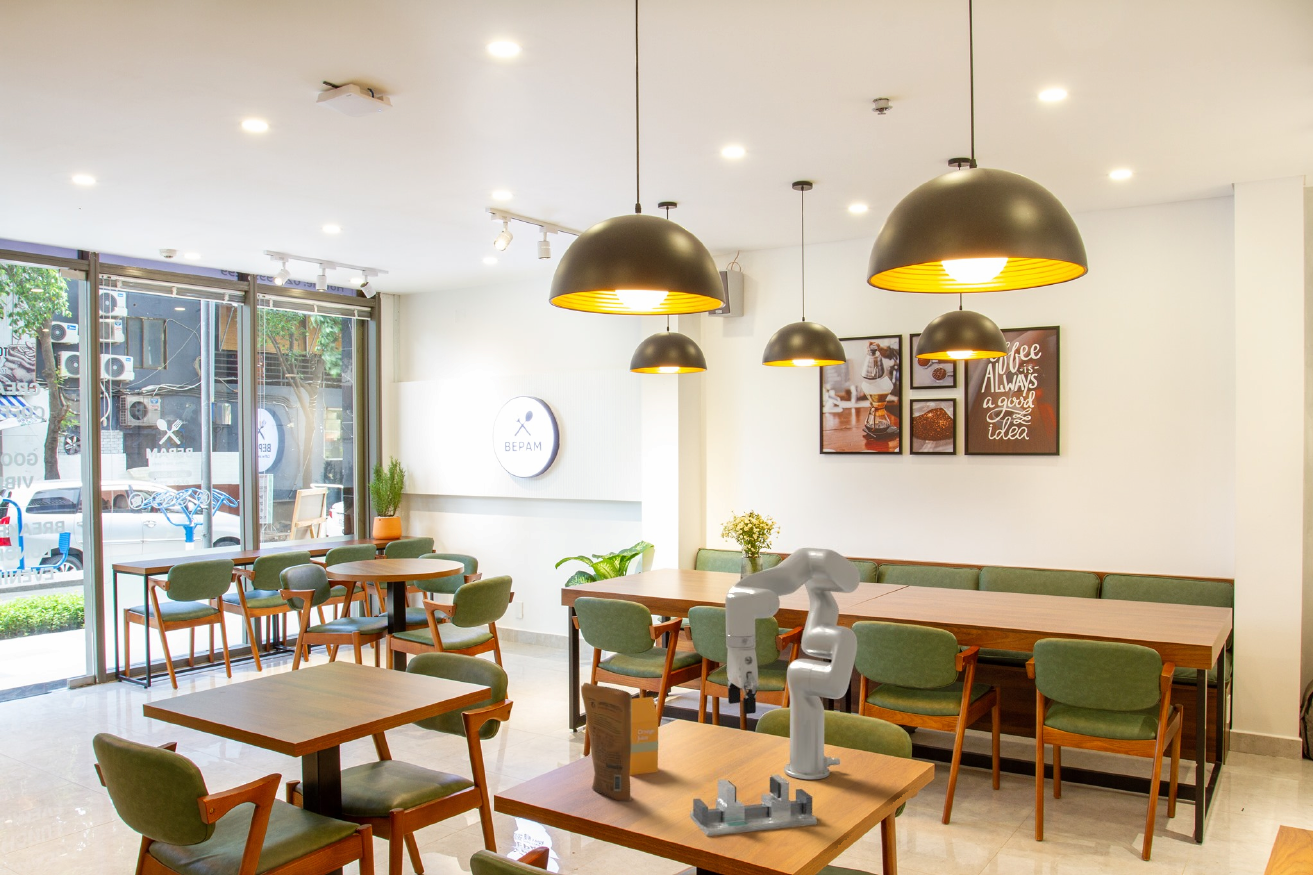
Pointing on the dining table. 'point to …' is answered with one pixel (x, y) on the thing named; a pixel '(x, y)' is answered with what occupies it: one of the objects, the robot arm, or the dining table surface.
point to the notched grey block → (729, 802)
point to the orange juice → (644, 736)
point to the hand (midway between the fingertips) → (741, 708)
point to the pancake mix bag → (609, 738)
